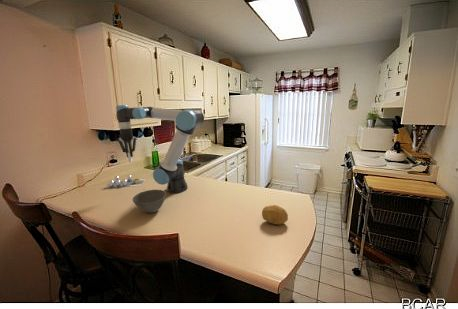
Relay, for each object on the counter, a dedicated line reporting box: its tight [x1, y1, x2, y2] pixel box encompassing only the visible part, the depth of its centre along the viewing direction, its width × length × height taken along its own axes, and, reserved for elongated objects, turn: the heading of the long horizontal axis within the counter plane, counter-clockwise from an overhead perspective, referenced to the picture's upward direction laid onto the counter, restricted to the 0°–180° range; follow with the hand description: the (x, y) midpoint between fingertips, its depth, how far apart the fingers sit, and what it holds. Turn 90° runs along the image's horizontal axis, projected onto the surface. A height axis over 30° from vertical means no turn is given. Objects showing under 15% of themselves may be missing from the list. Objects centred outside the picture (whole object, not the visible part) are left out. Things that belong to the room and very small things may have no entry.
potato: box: [261, 204, 289, 226], centre depth 112 cm, size 10×13×9 cm
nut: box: [132, 178, 141, 184], centre depth 177 cm, size 4×5×3 cm
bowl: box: [132, 189, 167, 214], centre depth 130 cm, size 19×19×10 cm
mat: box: [105, 179, 146, 189], centre depth 177 cm, size 27×15×1 cm, turn 96°
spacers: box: [108, 174, 133, 189], centre depth 176 cm, size 13×14×5 cm
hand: (130, 161), depth 153 cm, fingers closed
